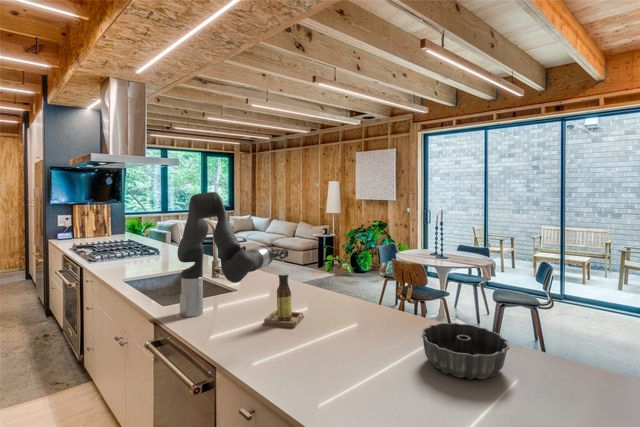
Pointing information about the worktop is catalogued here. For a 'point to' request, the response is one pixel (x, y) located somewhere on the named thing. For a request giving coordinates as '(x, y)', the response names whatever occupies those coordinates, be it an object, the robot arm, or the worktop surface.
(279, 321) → the dock
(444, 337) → the bundt pan
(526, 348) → the worktop surface
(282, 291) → the sauce bottle
